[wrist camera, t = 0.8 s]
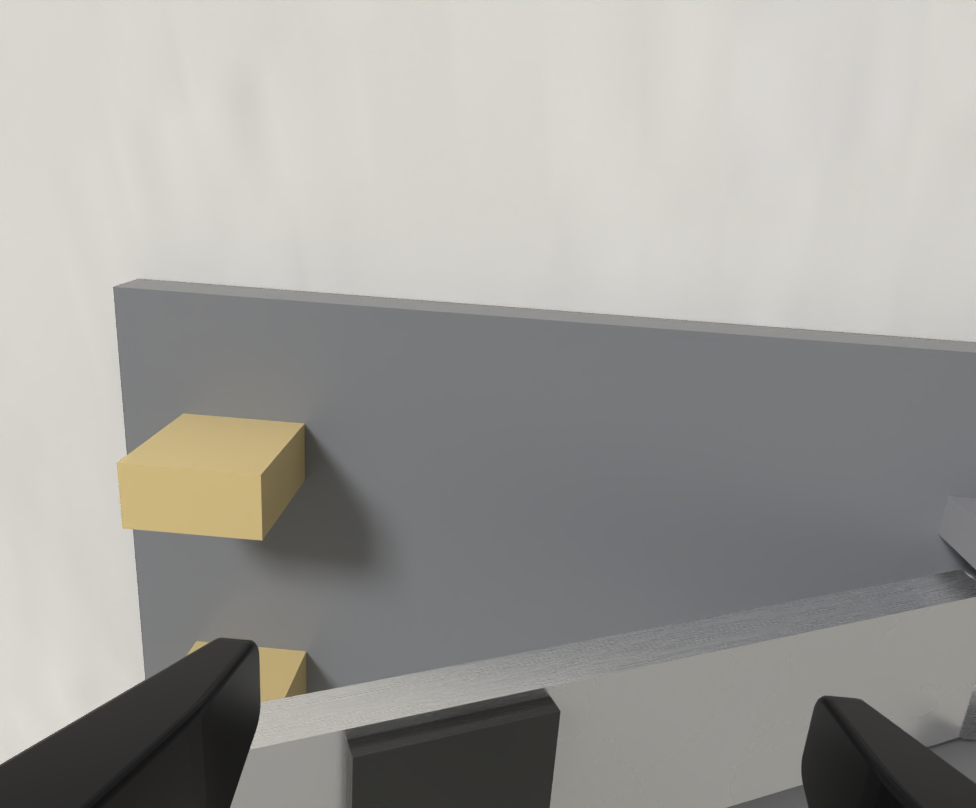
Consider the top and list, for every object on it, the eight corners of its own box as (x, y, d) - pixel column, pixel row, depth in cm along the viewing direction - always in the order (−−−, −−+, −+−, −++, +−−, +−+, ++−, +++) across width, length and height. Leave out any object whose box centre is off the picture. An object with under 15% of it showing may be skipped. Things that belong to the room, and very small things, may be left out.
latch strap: (990, 558, 19) (1056, 592, 18) (949, 695, 20) (1008, 738, 19) (153, 714, 12) (153, 791, 11) (169, 908, 13) (170, 1000, 12)
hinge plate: (1131, 354, 19) (1302, 412, 14) (978, 818, 23) (1076, 967, 19) (138, 278, 19) (29, 313, 15) (171, 740, 24) (93, 865, 20)
